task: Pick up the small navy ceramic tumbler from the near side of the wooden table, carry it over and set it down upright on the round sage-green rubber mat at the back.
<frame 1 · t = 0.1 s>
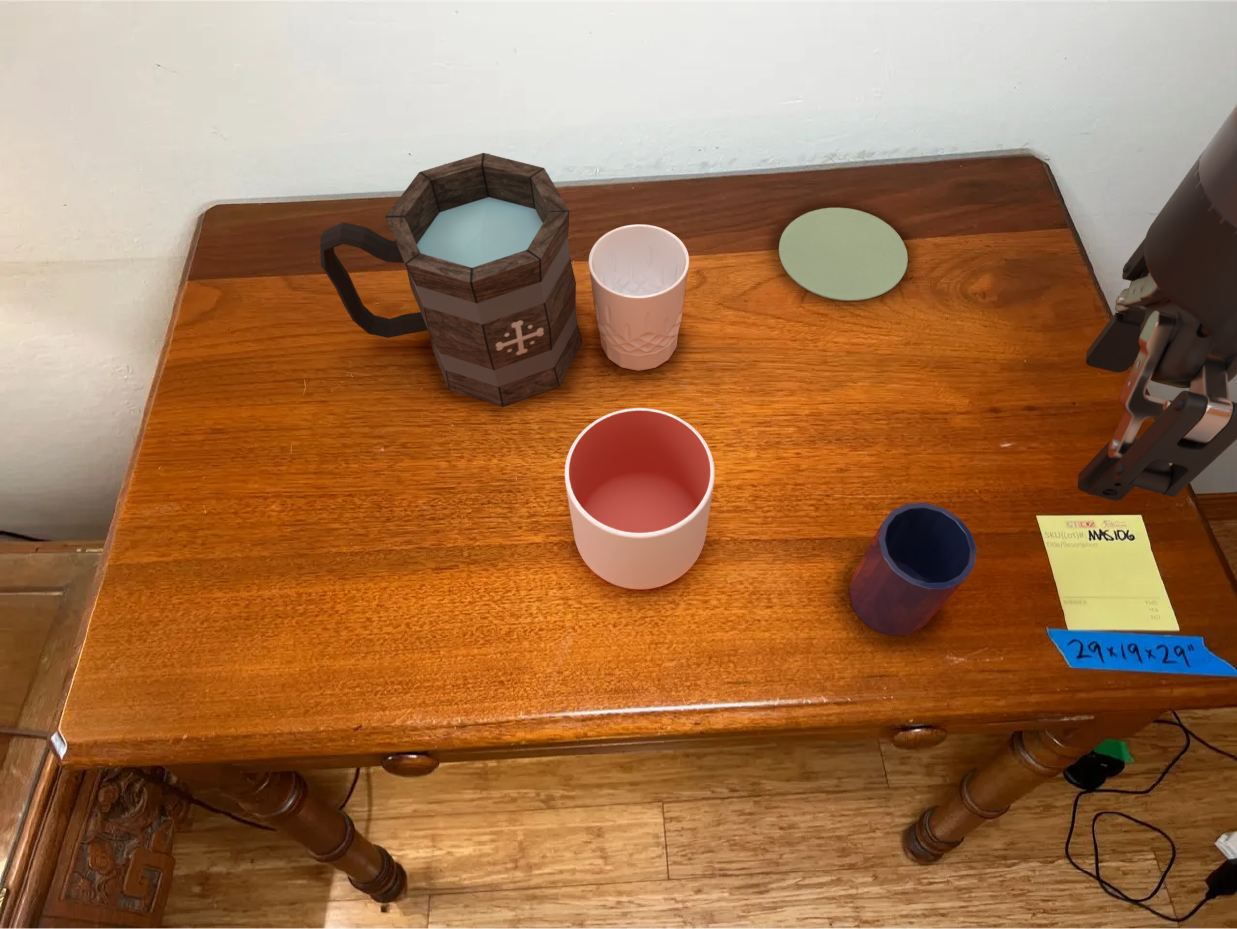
hand: (1100, 423, 44), 19 cm above the table, tool pointing down, fingers open, 8 cm apart
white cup: (639, 342, 72), on the table
mug: (472, 346, 73), on the table
cup: (639, 535, 63), on the table
mat: (842, 253, 77), on the table
tumbler: (890, 596, 60), on the table
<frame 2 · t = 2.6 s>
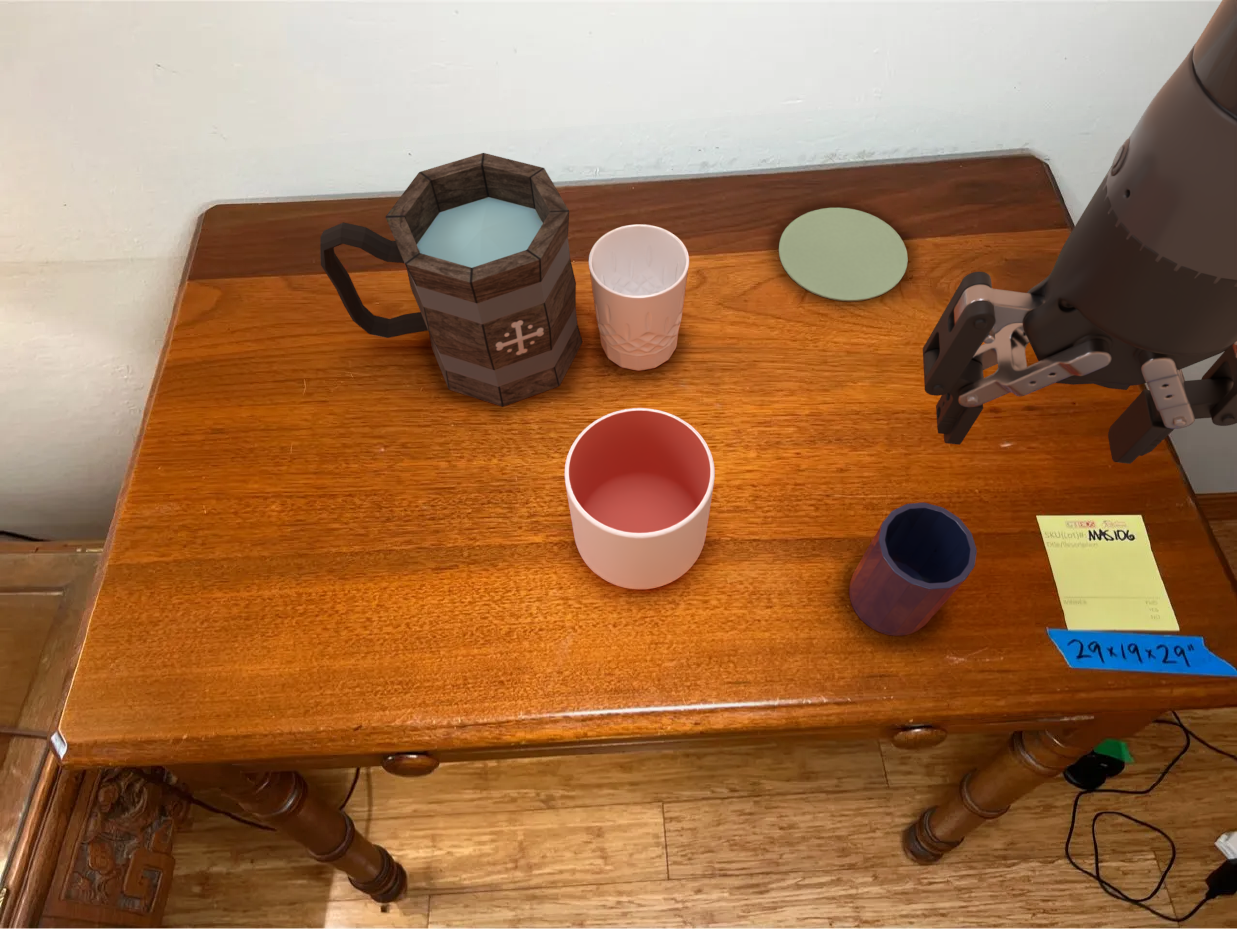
hand: (1033, 439, 43), 20 cm above the table, tool pointing down, fingers open, 8 cm apart
nothing on the table moved.
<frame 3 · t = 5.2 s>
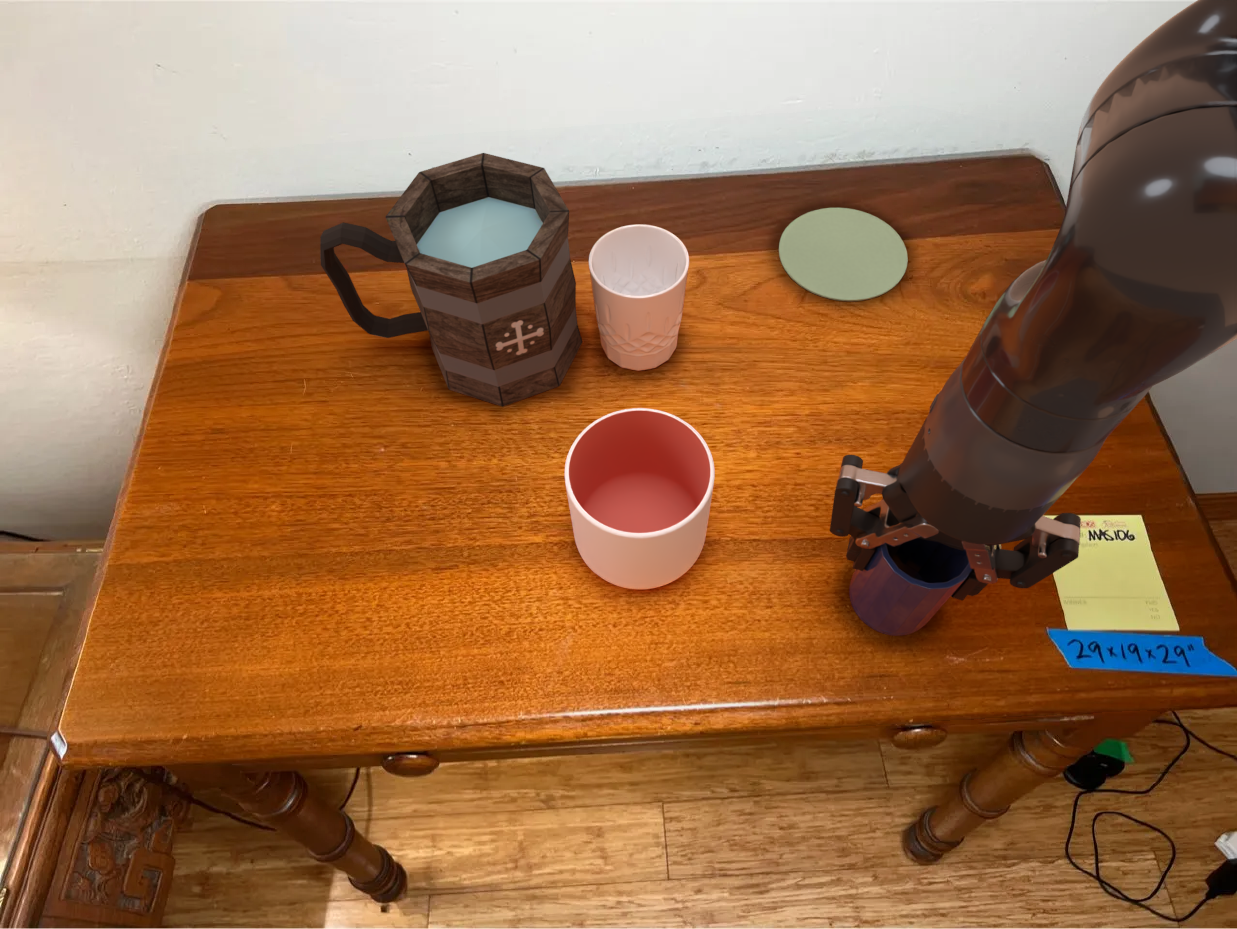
hand: (908, 571, 56), 5 cm above the table, tool pointing down, fingers closed on tumbler, 6 cm apart
tumbler: (890, 596, 60), on the table, touching gripper
everything else where it was.
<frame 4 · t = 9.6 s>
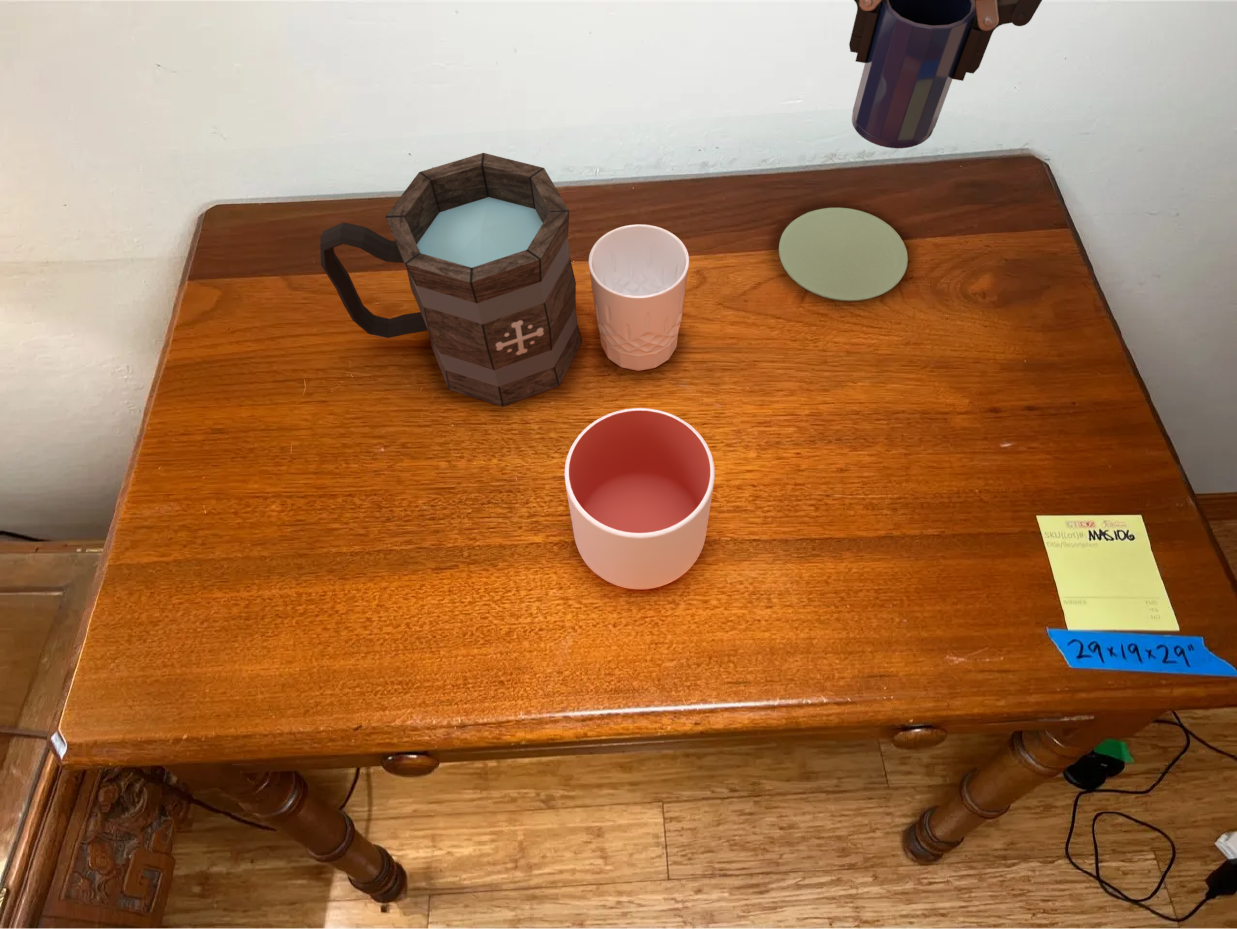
hand: (910, 63, 56), 22 cm above the table, tool pointing down, fingers closed on tumbler, 6 cm apart
tumbler: (892, 121, 60), point 17 cm above the table, touching gripper
everything else where it was.
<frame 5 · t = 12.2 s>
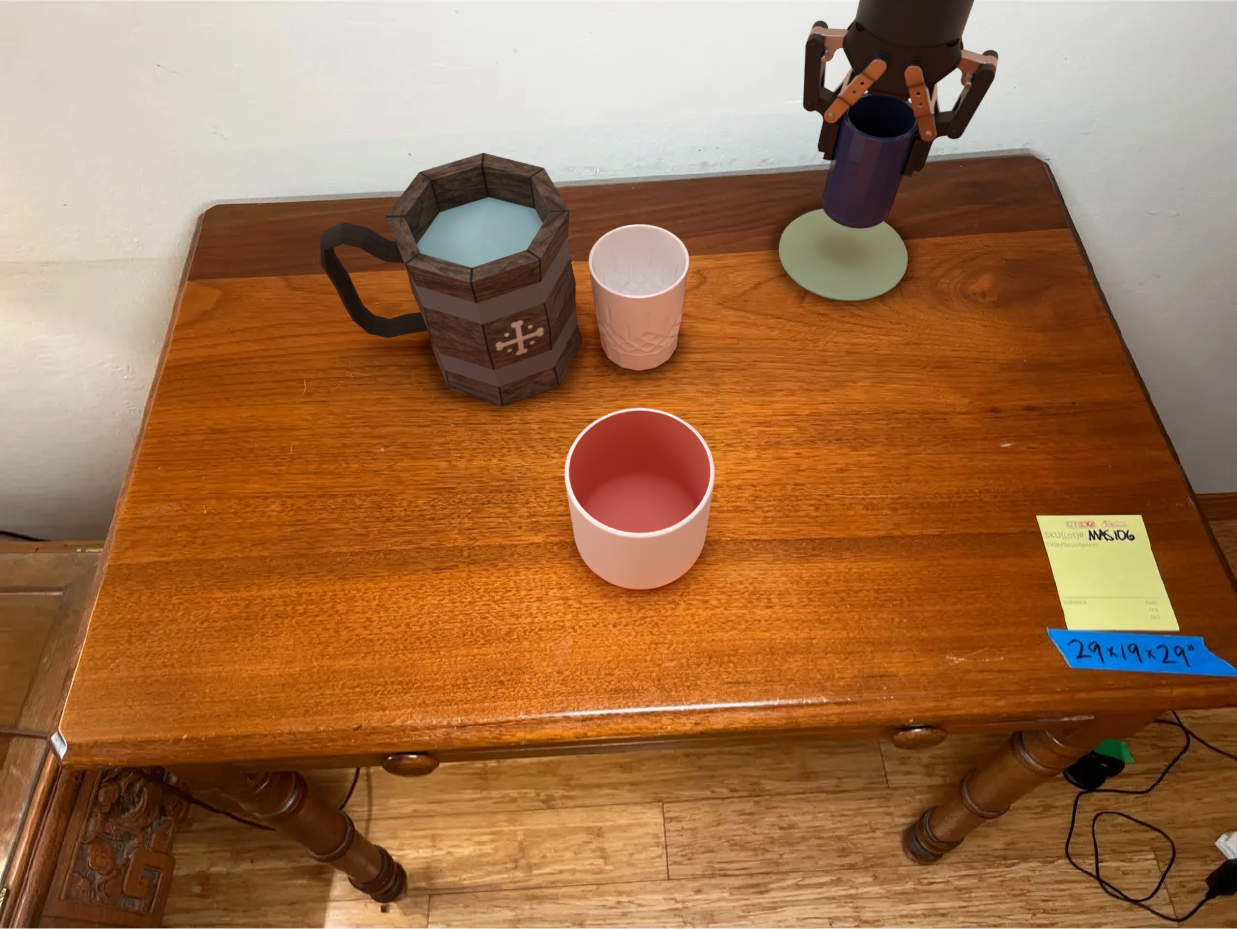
hand: (868, 161, 68), 11 cm above the table, tool pointing down, fingers closed on tumbler, 6 cm apart
tumbler: (855, 204, 72), point 6 cm above the table, touching gripper
everything else where it was.
when the fingers open (5 cm above the table, at t = 14.1 s): tumbler stays where it is, resting on mat.
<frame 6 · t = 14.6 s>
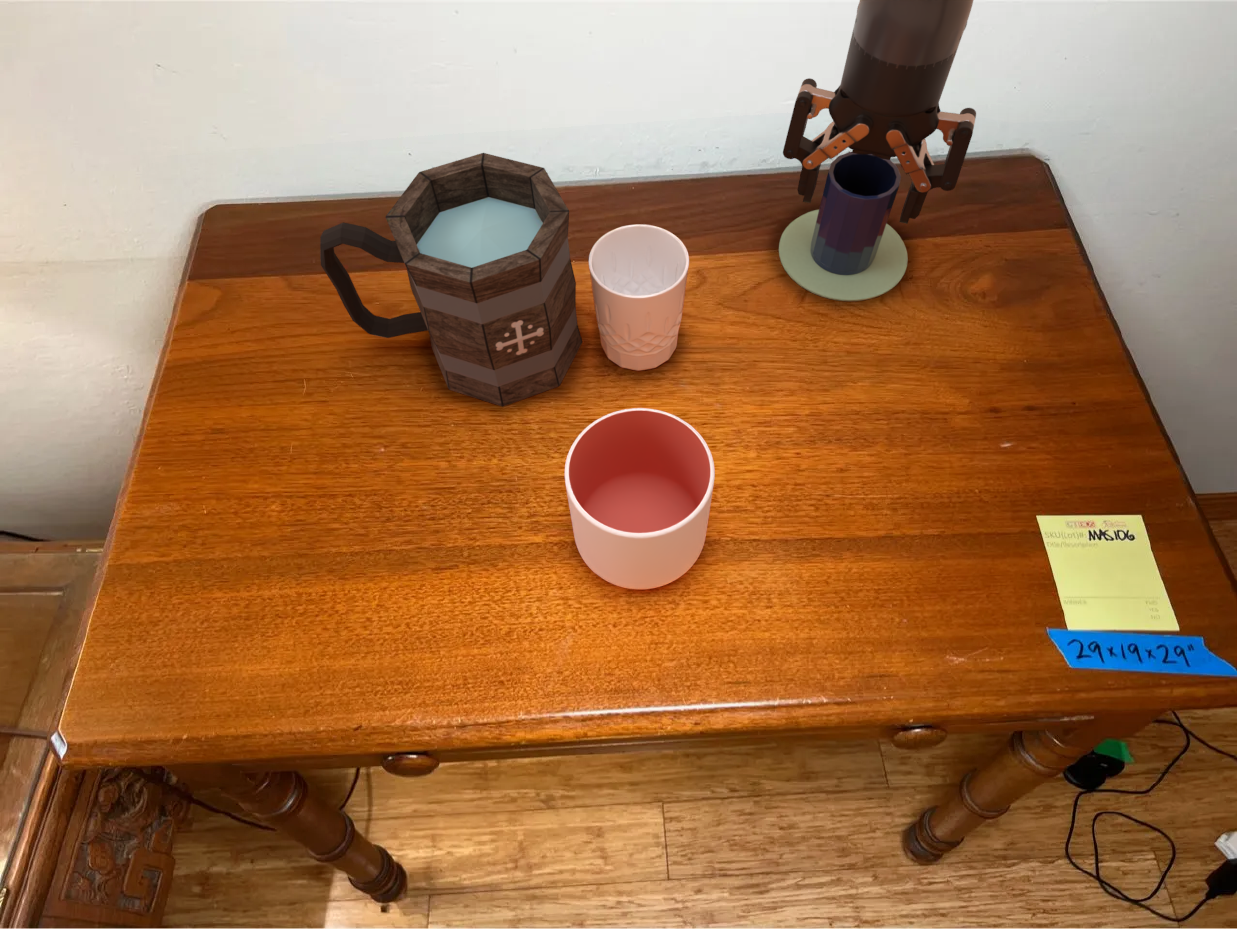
hand: (856, 206, 72), 6 cm above the table, tool pointing down, fingers open, 8 cm apart
tumbler: (842, 251, 77), resting on mat
everything else where it was.
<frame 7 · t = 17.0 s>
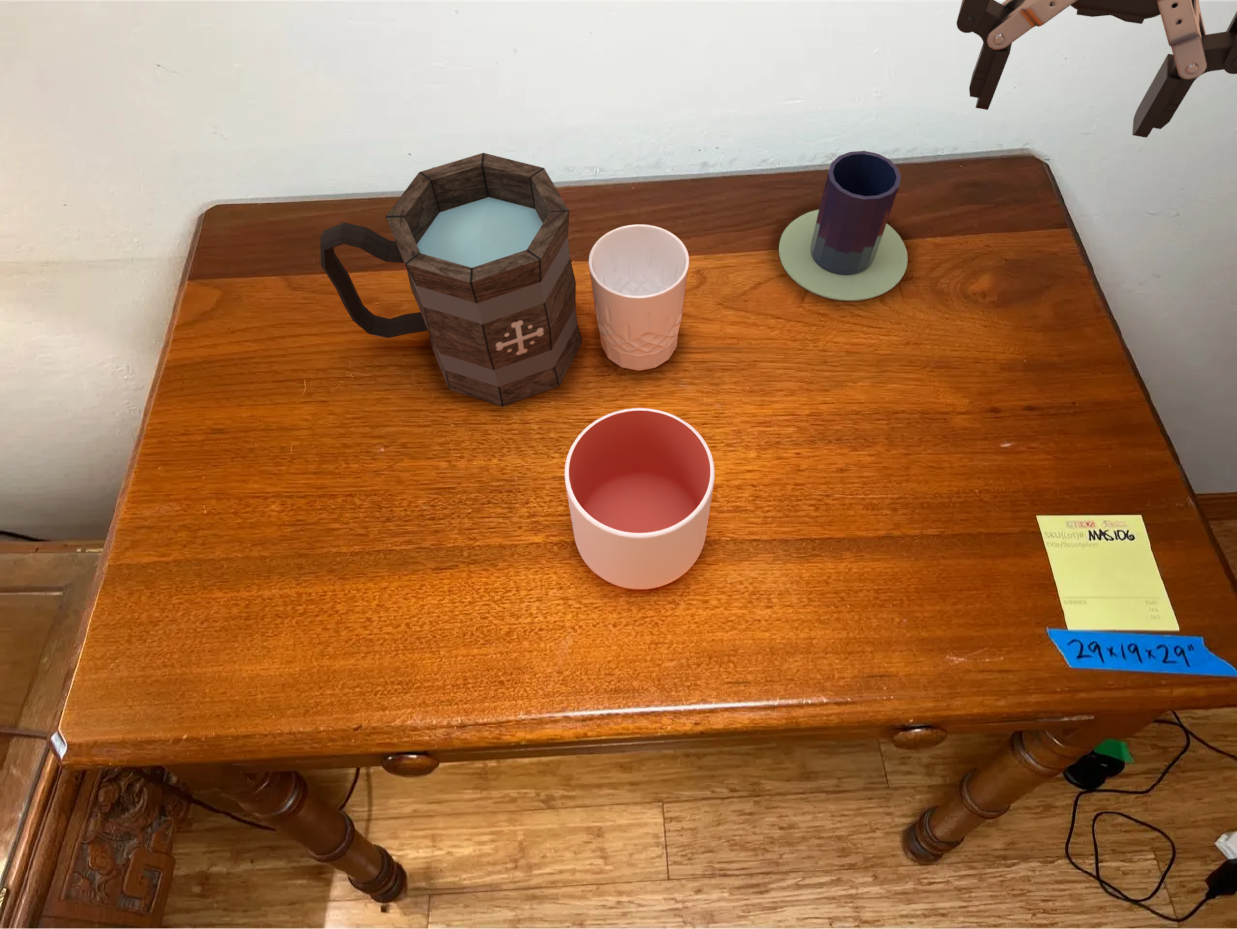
hand: (1060, 114, 47), 26 cm above the table, tool pointing down, fingers open, 8 cm apart
nothing on the table moved.
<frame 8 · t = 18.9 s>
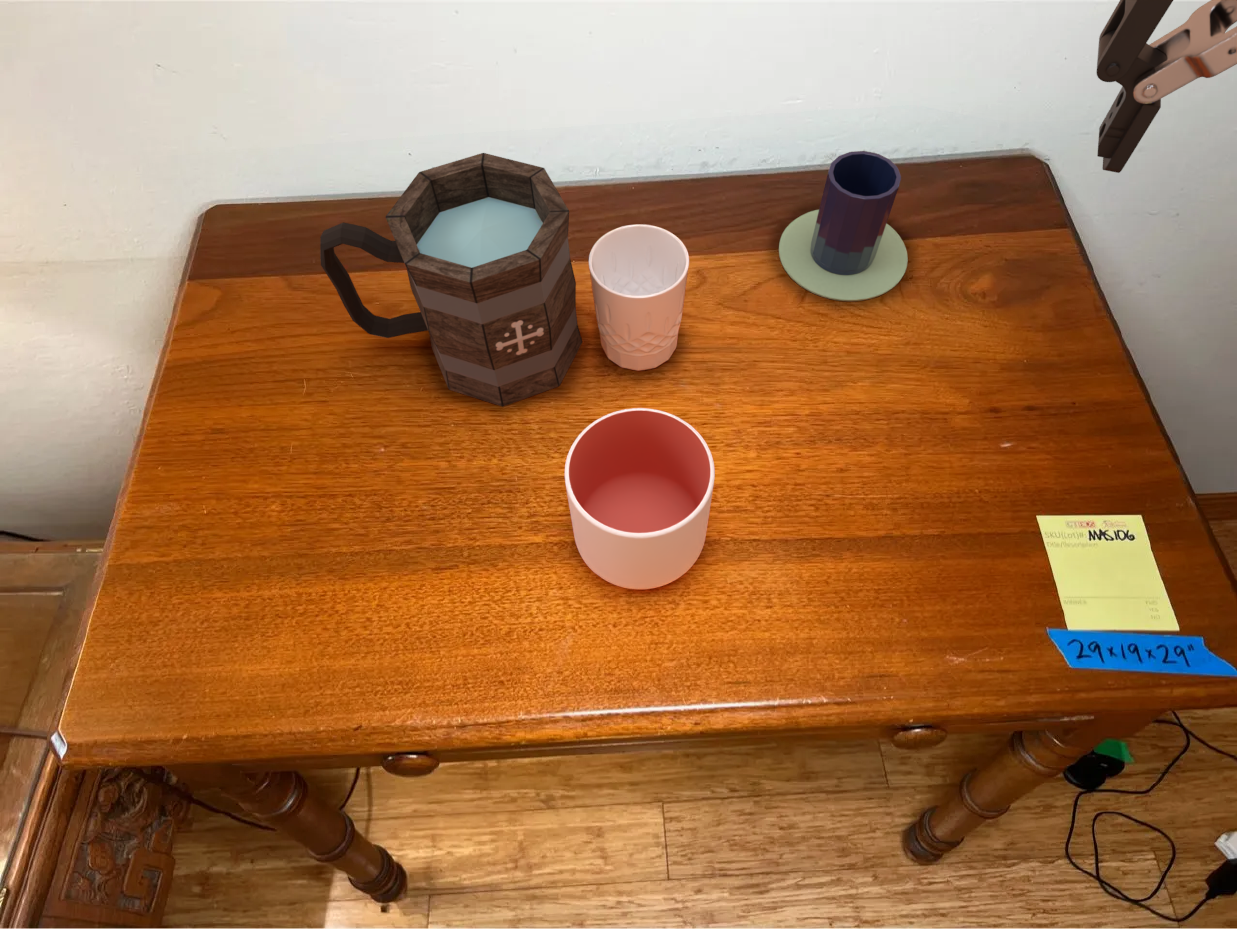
hand: (1207, 179, 38), 30 cm above the table, tool pointing down, fingers open, 8 cm apart
nothing on the table moved.
at the end: tumbler 0.1 cm off-centre on the mat, point 0.2 cm above the mat's base; tumbler tilted 0°; the gripper is holding nothing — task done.
